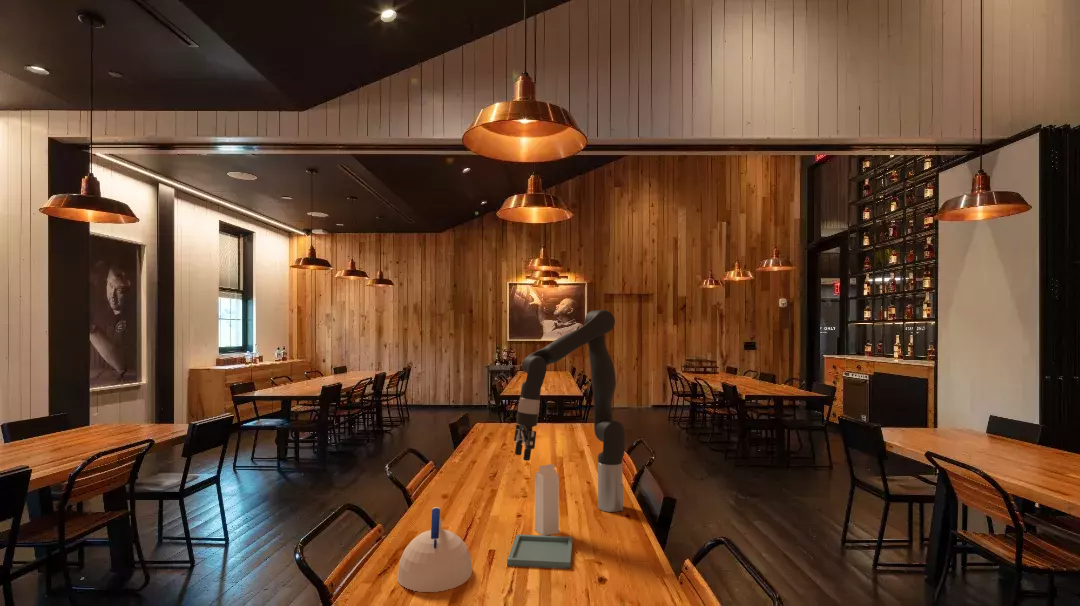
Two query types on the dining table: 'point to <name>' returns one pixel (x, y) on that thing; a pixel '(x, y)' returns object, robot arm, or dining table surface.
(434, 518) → the dome with blue handle
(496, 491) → the dining table surface
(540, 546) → the tray
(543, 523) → the milk
